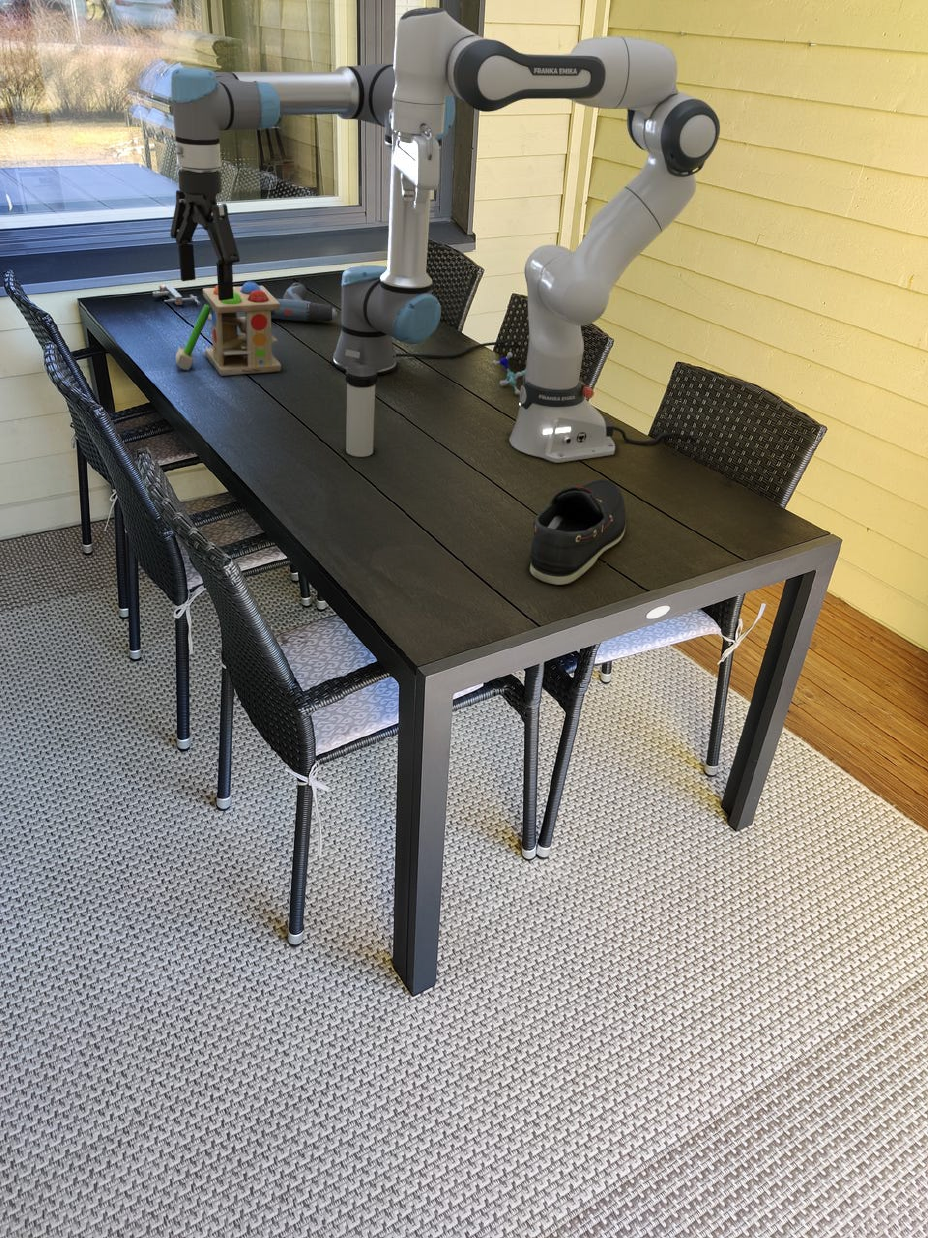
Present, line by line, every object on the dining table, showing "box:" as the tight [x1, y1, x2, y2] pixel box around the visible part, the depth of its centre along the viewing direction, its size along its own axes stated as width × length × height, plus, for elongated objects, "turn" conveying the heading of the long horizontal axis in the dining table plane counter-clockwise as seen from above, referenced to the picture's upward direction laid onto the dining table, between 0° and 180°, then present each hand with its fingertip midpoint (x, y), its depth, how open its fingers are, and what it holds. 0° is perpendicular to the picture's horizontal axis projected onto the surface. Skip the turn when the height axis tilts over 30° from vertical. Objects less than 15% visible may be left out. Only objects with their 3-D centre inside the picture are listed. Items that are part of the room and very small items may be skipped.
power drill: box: [271, 282, 338, 322], centre depth 265 cm, size 5×19×20 cm
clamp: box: [152, 284, 202, 306], centre depth 265 cm, size 15×2×10 cm
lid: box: [345, 366, 378, 387], centre depth 189 cm, size 6×6×2 cm
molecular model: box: [491, 351, 527, 396], centre depth 231 cm, size 12×10×10 cm
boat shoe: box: [529, 479, 627, 586], centre depth 172 cm, size 13×33×10 cm, turn 147°
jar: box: [345, 382, 376, 458], centre depth 193 cm, size 5×5×16 cm
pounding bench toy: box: [174, 281, 282, 377], centre depth 225 cm, size 23×14×18 cm, turn 116°
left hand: (206, 289), depth 186 cm, fingers open, 13 cm apart
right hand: (413, 206), depth 173 cm, fingers open, 8 cm apart
